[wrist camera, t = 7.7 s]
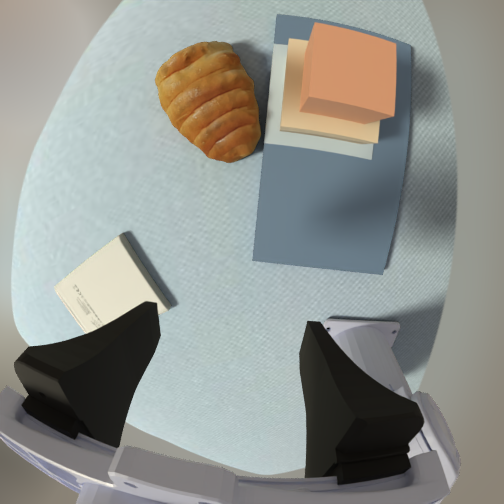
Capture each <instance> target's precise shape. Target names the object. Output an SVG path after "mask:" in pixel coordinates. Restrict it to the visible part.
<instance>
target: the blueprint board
mask: <svg viewBox="0 0 504 504" xmlns="http://www.w3.org/2000/svg"><path fill="white" fill-rule="evenodd" d="M315 22H316V23H322V24H327V25H332V26H337V27H341V28H345V29H349V30H353V31H357V32H361V33H365V34H368V35H372V36H375V37H378V38H381V39H384V40H387V41H390V42H393V43H396V97H395V113H394V117H390V118H386V119H382V120H380V126H379V136H378V143H374V144H357V143H352V142H347V141H342V140H336V139H331V138H325V137H319V136H313V135H306V134H299V133H291V132H283V131H280V122H281V112H282V101H283V91H284V80H285V69H286V58H287V49H288V42H289V38H291V39H299V40H306V41H309V38H310V35H311V32H312V29H313V26H314V23H315ZM410 112H411V45H409V44H407V43H404V42H401V41H399V40H396V39H393V38H390V37H387V36H384V35H381V34H377V33H374V32H371V31H367V30H364V29H360V28H356V27H352V26H348V25H343V24H339V23H334V22H329V21H324V20H318V19H312V18H306V17H298V16H290V15H280V14H277V17H276V27H275V38H274V47H273V58H272V68H271V78H270V88H269V99H268V109H267V119H266V129H265V139H264V150H263V160H262V170H261V180H260V190H259V200H258V210H257V220H256V230H255V240H254V250H253V260H252V261H259V262H268V263H277V264H286V265H295V266H304V267H313V268H322V269H332V270H341V271H350V272H360V273H369V274H379V275H383V272H384V268H385V265H386V261H387V257H388V253H389V249H390V245H391V241H392V237H393V232H394V228H395V223H396V218H397V213H398V208H399V203H400V197H401V192H402V185H403V179H404V172H405V165H406V157H407V148H408V139H409V127H410Z"/></svg>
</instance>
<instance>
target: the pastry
mask: <svg viewBox="0 0 504 504" xmlns="http://www.w3.org/2000/svg"><path fill="white" fill-rule="evenodd" d="M155 83H156V85H157V87H158V92H159V93H158V95H159V99H160V103H161V106H162V108H163V109H164V111H165V112H166V114H167V115H168V116H169V119H170V121H171V123H172V125H173V126H174V127H175V128H177V129H178V131H179V132H180V133H181V134H182V135H183V136H184V137H186V138H187V139H188V140H189V141H190V142H191V143H192V144H194V145H195V146H197V147H198V148H199V149H201V150H202V151H203V152H204V153H205V155H206V156H207V157H208V158H211V159H215V160H219V161H224V162H226V163H232V162H235V161H238V160H240V159H242V158H244V157H246V156H248V155H250V154H251V153H253V151H254V150H255V147H256V145H257V143H258V141H259V139H260V136H261V130H260V124H259V108H258V104H257V100H256V98H255V94H254V81H253V80H252V79H251V78H250V77H249V76H248V75H247V73H246V71H245V70H244V68H243V66H242V65H241V63H240V59H239V57H238V55H237V54H235V53H234V52H233V48H232V46H231V45H230V44H228V43H226V42H217V41H213V42H200V43H197V44H194V45H192V46H189V47H187V48H185V49H183V50H181V51H179V52H177V53H175V54H174V55H172V56H171V57H170V59H169V60H168V61H167V62H165V63H164V64H163V65H162V66H161V67H160V69H159V70H158V72H157V75H156V78H155Z"/></svg>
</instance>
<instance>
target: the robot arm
mask: <svg viewBox="0 0 504 504" xmlns="http://www.w3.org/2000/svg"><path fill="white" fill-rule="evenodd" d="M328 327H330V329H326V328H328ZM399 329H400V324H399V323H398V322H384V321H361V320H344V319H327V320H326V321H325V322H324V325H322V324H321V322H316V321H307V325H306V329H305V333H304V337H303V341H302V345H301V349H300V353H299V359H300V376H301V382H302V388H303V395H304V401H305V408H306V430H307V435H306V468H305V478H260V477H245V476H236V475H235V474H234V473H233V472H231V471H229V470H227V469H225V468H223V467H218V466H214V465H210V464H205V463H199V462H193V461H188V460H184V459H179V458H175V457H171V456H166V455H162V454H159V453H155V452H151V451H148V450H144V449H141V448H137V447H131V446H123V447H119V445H120V440H121V436H122V431H123V427H124V424H125V420H126V417H127V413H128V410H129V407H130V404H131V401H132V398H133V395H134V393H135V390H136V388H137V386H138V384H139V382H140V380H141V378H142V376H143V374H144V372H145V370H146V368H147V366H148V364H149V362H150V361H151V359H152V357H153V355H154V353H155V350H156V348H157V345H158V342H159V339H160V336H161V334H160V325H159V316H158V306H157V303H156V302H150V301H145V302H143V303H141V304H139V305H138V306H136V307H134V308H133V309H131V310H130V311H128V312H126V313H125V314H123V315H121V316H120V317H118V318H117V319H115V320H113V321H111V322H109V323H107V324H106V325H104V326H102V327H100V328H98V329H96V330H94V331H91V332H89V333H87V334H84V335H81V336H78V337H75V338H72V339H69V340H66V341H62V342H58V343H53V344H48V345H40V346H30V347H28V348H27V349H26V350H25V351H24V352H23V353H22V354H21V355H20V357H19V358H18V359H17V360H16V361H15V362H14V368H15V372H16V374H17V376H18V377H19V379H20V381H21V383H22V384H23V386H24V388H25V389H26V391H27V393H28V394H29V395H28V396H27V398H26V399H25V397H24V396H23V395H21V394H20V393H19V392H17V391H16V390H14V389H12V388H11V387H10V386H6V387H5V388H4V389H3V390H2V392H1V393H0V438H1V439H2V440H3V441H4V442H5V443H6V444H7V445H8V446H9V447H10V448H11V449H12V450H13V451H15V452H16V453H17V454H19V455H20V456H21V457H23V458H24V459H25V460H27V461H28V462H30V463H31V464H33V465H34V466H35V467H37V468H38V469H40V470H41V471H42V472H44V473H45V474H47V475H49V476H50V477H52V478H53V479H55V480H57V481H58V482H60V483H61V484H63V485H65V486H66V487H68V488H70V489H72V490H73V491H75V492H77V493H79V496H78V499H77V502H76V504H440V503H441V502H442V500H443V499H444V498H445V497H446V496H448V495H449V494H450V489H451V488H452V486H453V485H454V483H455V482H456V480H457V478H458V476H459V473H460V466H461V461H460V455H459V453H458V450H457V448H456V446H455V442H454V439H453V436H452V434H451V431H450V429H449V427H448V424H447V422H446V420H445V418H444V416H443V415H442V413H441V411H440V410H439V407H438V406H437V404H436V403H435V401H434V400H433V398H432V397H431V396H430V395H429V394H428V393H422V392H420V391H417V392H415V393H414V394H412V392H411V390H410V388H409V385H408V383H407V381H406V379H405V376H404V374H403V372H402V370H401V368H400V366H399V364H398V362H397V359H396V357H395V355H394V353H393V351H392V349H391V348H392V346H393V343H394V341H395V339H396V337H397V334H398V332H399ZM394 330H395V331H394ZM393 331H394V332H393Z"/></svg>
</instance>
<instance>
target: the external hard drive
mask: <svg viewBox="0 0 504 504" xmlns="http://www.w3.org/2000/svg"><path fill="white" fill-rule="evenodd" d="M54 288H55V291H56V293H57V294H58V296H59V297H60V299H61V300H62V302H63V303H64V305H65V306H66V307H67V309H68V310H69V312H70V313H71V314H72V316H73V317H74V319H75V320H76V321H77V323H78V324H79V326H80V327H81V328H82V329H83V331H84V332H85V333H86V334H87V333H89V332H91V331H94V330H96V329H98V328H100V327H102V326H104V325H106V324H107V323H109V322H111V321H113V320H115V319H117V318H118V317H120V316H121V315H123V314H125V313H126V312H128V311H130V310H131V309H133V308H134V307H136V306H138V305H139V304H141V303H143V302H145V301H150V302H156V303H157V306H158V315H160V314H162V313H164V312H166V311H168V310H169V309H170V308H171V304H170V303H169V301H168V300H167V299H166V297H165V296H164V294H163V293H162V292H161V290H160V289H159V287H158V286H157V284H156V283H155V282H154V280H153V279H152V277H151V276H150V274H149V273H148V271H147V270H146V268H145V267H144V265H143V264H142V262H141V261H140V259H139V257H138V256H137V254H136V253H135V251H134V250H133V248H132V246H131V245H130V243H129V242H128V240H127V238H126V237H125V235H124V233H122V234H120V235H118V236H117V237H116V238H114V239H113V240H112V241H111V242H109V243H108V244H106V245H105V246H104V247H102V248H101V249H100V250H99V251H97V252H96V253H95V254H93V255H92V256H91V257H90V258H88V259H87V260H86V261H85V262H83V263H82V264H81V265H80V266H78V267H77V268H76V269H75V270H73V271H72V272H71V273H70V274H69V275H67V276H66V277H65V278H64V279H63V280H62V281H60V282H59V283H58V284H57V285H56V286H55V287H54Z"/></svg>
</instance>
